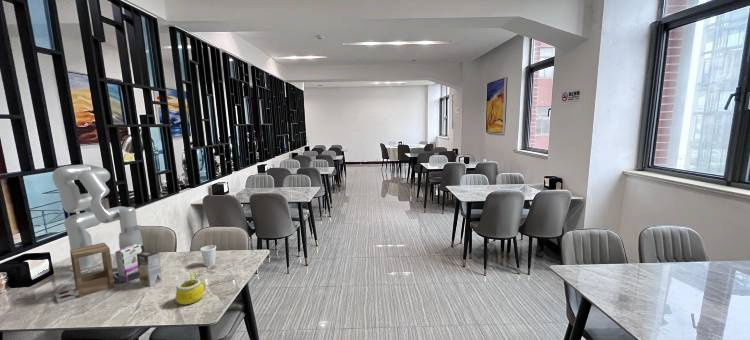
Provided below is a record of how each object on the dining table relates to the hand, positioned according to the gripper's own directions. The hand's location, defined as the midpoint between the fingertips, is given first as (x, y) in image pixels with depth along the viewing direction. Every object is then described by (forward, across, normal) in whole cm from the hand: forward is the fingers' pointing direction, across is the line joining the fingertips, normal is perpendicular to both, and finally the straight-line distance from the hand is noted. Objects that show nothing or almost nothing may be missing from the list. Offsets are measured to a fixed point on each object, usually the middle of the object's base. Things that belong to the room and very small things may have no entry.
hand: (133, 260), depth 184 cm
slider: (+5, +3, +8) cm, 9 cm away
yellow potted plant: (+5, -8, +65) cm, 66 cm away
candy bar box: (+5, +4, +13) cm, 14 cm away
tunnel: (+5, +19, +13) cm, 24 cm away
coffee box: (+5, -1, +29) cm, 29 cm away
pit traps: (+5, +30, +13) cm, 33 cm away
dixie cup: (+5, -30, +29) cm, 42 cm away
